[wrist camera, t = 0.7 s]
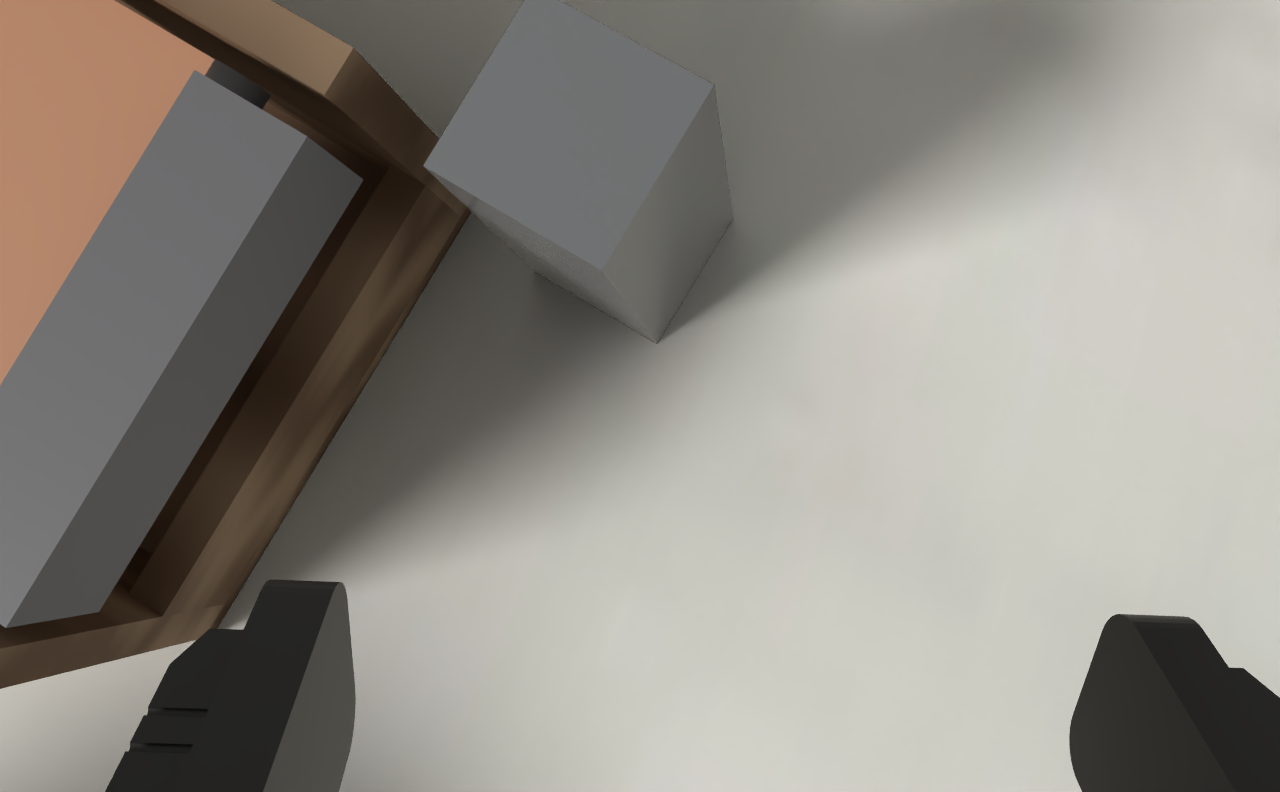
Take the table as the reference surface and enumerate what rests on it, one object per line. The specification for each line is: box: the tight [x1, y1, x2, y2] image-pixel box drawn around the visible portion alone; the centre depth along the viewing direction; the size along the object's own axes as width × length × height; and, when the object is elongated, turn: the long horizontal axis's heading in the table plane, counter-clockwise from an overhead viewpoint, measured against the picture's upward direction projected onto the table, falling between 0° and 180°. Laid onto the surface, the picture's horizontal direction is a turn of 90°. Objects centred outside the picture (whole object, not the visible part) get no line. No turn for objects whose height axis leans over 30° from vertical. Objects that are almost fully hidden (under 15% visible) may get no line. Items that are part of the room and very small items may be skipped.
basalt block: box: [423, 0, 733, 344], centre depth 28 cm, size 4×4×11 cm
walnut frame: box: [0, 0, 471, 689], centre depth 30 cm, size 16×17×11 cm
